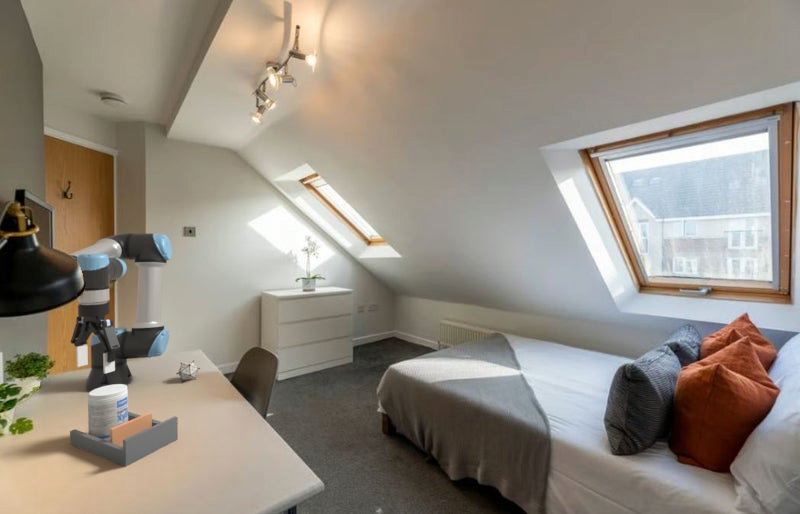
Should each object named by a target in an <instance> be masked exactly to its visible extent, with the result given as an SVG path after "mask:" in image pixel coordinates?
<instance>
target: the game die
mask: <svg viewBox="0 0 800 514" xmlns="http://www.w3.org/2000/svg"><path fill="white" fill-rule="evenodd" d="M199 370H201V368H200V367H198V366H197V365H196V364H195V360H192V361H191V362H184V363H183V362H180V367H179V370H178V372H176V373H175V374H176V375H178V376H179V377H180V379H182V380H181V382H182V383H183V382H184V381H187V380H191V379H194V380H197V373H198V371H199Z"/></svg>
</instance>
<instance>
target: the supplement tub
mask: <svg viewBox="0 0 800 514" xmlns="http://www.w3.org/2000/svg"><path fill="white" fill-rule="evenodd" d="M127 385H128V384H127ZM127 385H124V384H114V385H108V386H103V387H100V388H97V389H94V390H92V391H89V392H88V397H87V406H88V407H87V411H88V412H87V414H88V417H87V419H88V420H87V421H88V422H87V423H88V424H87V425H88V427H87V428H88V434H89V435H92V436H95V437H98V438H100V439H103V440H106V441H109V442H110V429H111V428H113V427H116V426H118V425H120V424H123V423H125V422H128V412H129V392H128V391H129V390H128V386H127Z"/></svg>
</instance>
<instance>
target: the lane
mask: <svg viewBox="0 0 800 514" xmlns="http://www.w3.org/2000/svg"><path fill="white" fill-rule="evenodd" d="M140 416H142V415H140V414H137V413H133V412H130V411H128V421H130V420H132V419H135V418H137V417H140ZM178 418H179V417H178V416H175V415H174V416H172V417H169V418H168V419H165V420H163V421H160V420H156V419H153V418H152V427H150V428H148V429H146V430H143V431H141V432H139V433H137V434H135V435H133V436H130V437H128V438H126V439H124V440H123V447H122V446H120V445H117V444H114V443H111V442H109V441H106V440H103V439H100V438H98V437H95V436H92V435H89V433H86V432H84V431H81V430H78V429H76V428H75V429H73V430H69V444H70V445H71V446H73V447H75V448H78V449H80V450H83V451H85V452H88V453H91V454H93V455H96V456H97V457H98V456H99V457H101V458H104V459H106V460H109V461H111V462H114V463H116V464H119V465H121V466H124V467H128V466H130V465H132V464H133V463H136V462H137V461H139V460H141V459H144V457H146V456H148V455H150V454H152V453H154V452H156V451H158V450H160V449H162V448H164V447H167V446H168V445H170V444H172V443H173V442H176V441H177V440H178V436H179V434H178V424H179V423H178V420H179V419H178Z"/></svg>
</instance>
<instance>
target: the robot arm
mask: <svg viewBox="0 0 800 514" xmlns="http://www.w3.org/2000/svg"><path fill="white" fill-rule="evenodd" d="M68 255H70V256H71V257H73V258H74V259H75V260H76V261H77V262H78V263H79V265H80V267H81V270H82V273H83V277H84V279H85V282H86V288H85V291H84V292H83V294H82V295H81V296H79V297H77V302H78V303H79V304H78V305H77V314H78V316H76V322H75V326H74V329H73V333H72V337H71V339H70V343H71V344H73V345H74V347H75V358H76V359H75V360H76V364H75V365H76V367H77V368H80V367H84V366H87V365H89V361H88V360H89V356H88V355H89V353H88V352H89V351H88V349H89V348H88V344H89V343H88V340H89V338H90V336H91V339H90V345H89V346H90V363H91V364H90V366H91V367H90V368H91V369H90V372H89V375H88V376H87V379H86V382H85V390H86V391H88V392H91V391H92V390H94V389H97V388H100V387H103V386H108V385H114V384H124V385H129V384H130V383H132V381H133V374H132V372H131V369H130V368H129V366H128V360H130V359H143V358H144V359H145V358H147V359H152V358H159V357H161V356H162V355H163V354H164V353H165V352H166V350H167V347H168V344H169V340H170V339H169V338H170V331H169V329H167V328H165V324H164V323H162V321H161V312H162V311H161V309H162V288H163V287H162V285H163V284H162V283H163V268H164V267H165V266H166V265H167V264H168V263H167V261H170V260H171V259H172V256H173V248H172V243H171V241H170V239H169V237H168V236H167V235H166V234H164V233H163V234H162V233H156V232H155V233H141V232H140V233H139V232H138V233H134V232H133V233H132V232H128V233H127V232H126V233H117V234H115V235H110V236H105V237H103V238H101V239H99V240H97V241H96V242H95V243H94V244H92V245H90V246H87V247H84V248H82V249H80V250H77V251H74V252H72V253H68ZM124 260H126V261H127V260H131V261H133V260H134V265H135V266H136V267H138V274H137V275H138V276H137V302H136V322H135V324H133V325H132V326H131V330H128V328H127V327H114V320H113V319H112V318H109V319H106V315H109V313H110V311H111V309H110V307H111V305H110V302H109V301H110V300H111V298H110V281H114V280H115V281H116V280H118V279H120V278H122V277H123V276H125V274H126V273H127V269H128V267H127V263H126V262H125V261H124ZM92 334H93V335H92Z"/></svg>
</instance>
